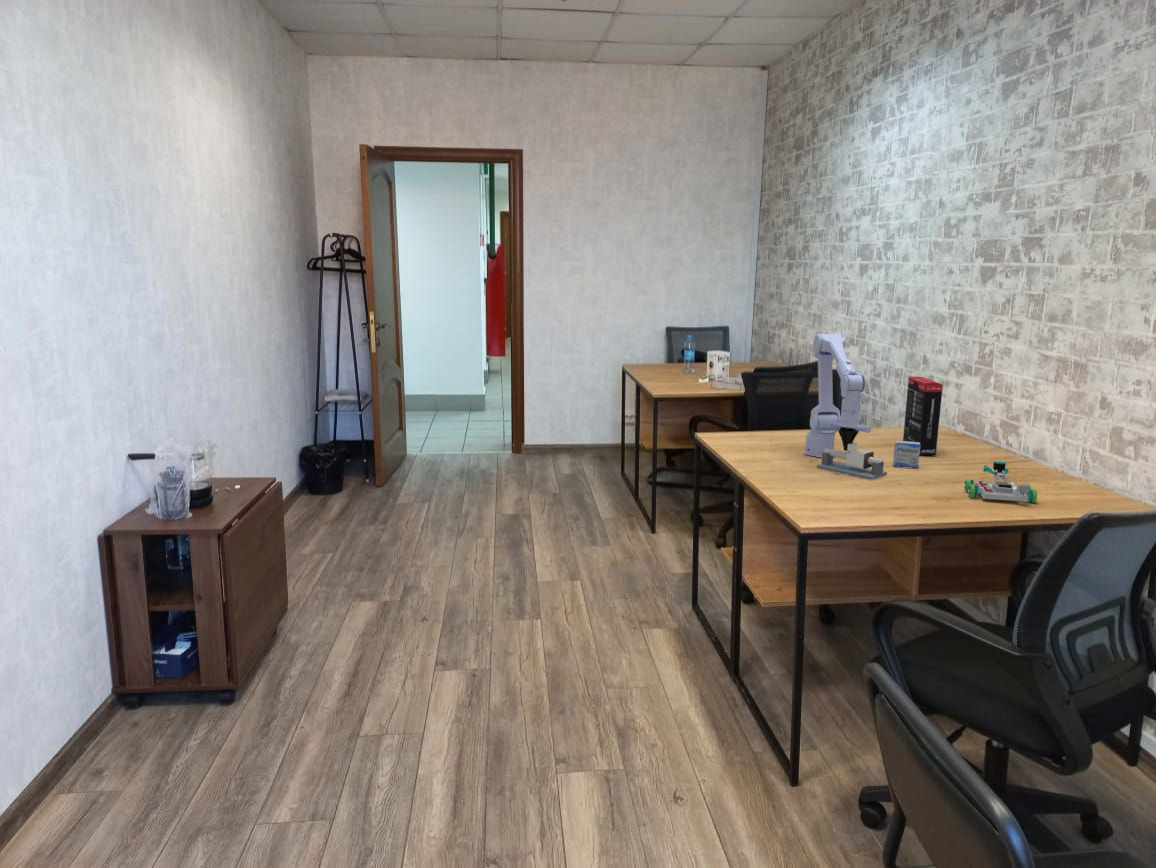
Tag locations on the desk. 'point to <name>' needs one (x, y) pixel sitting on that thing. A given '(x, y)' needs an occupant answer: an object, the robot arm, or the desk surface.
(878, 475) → the pipe stand
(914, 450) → the medicine box
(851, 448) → the sleeve
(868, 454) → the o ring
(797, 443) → the desk surface
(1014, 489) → the robot kit
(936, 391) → the graphics card box
